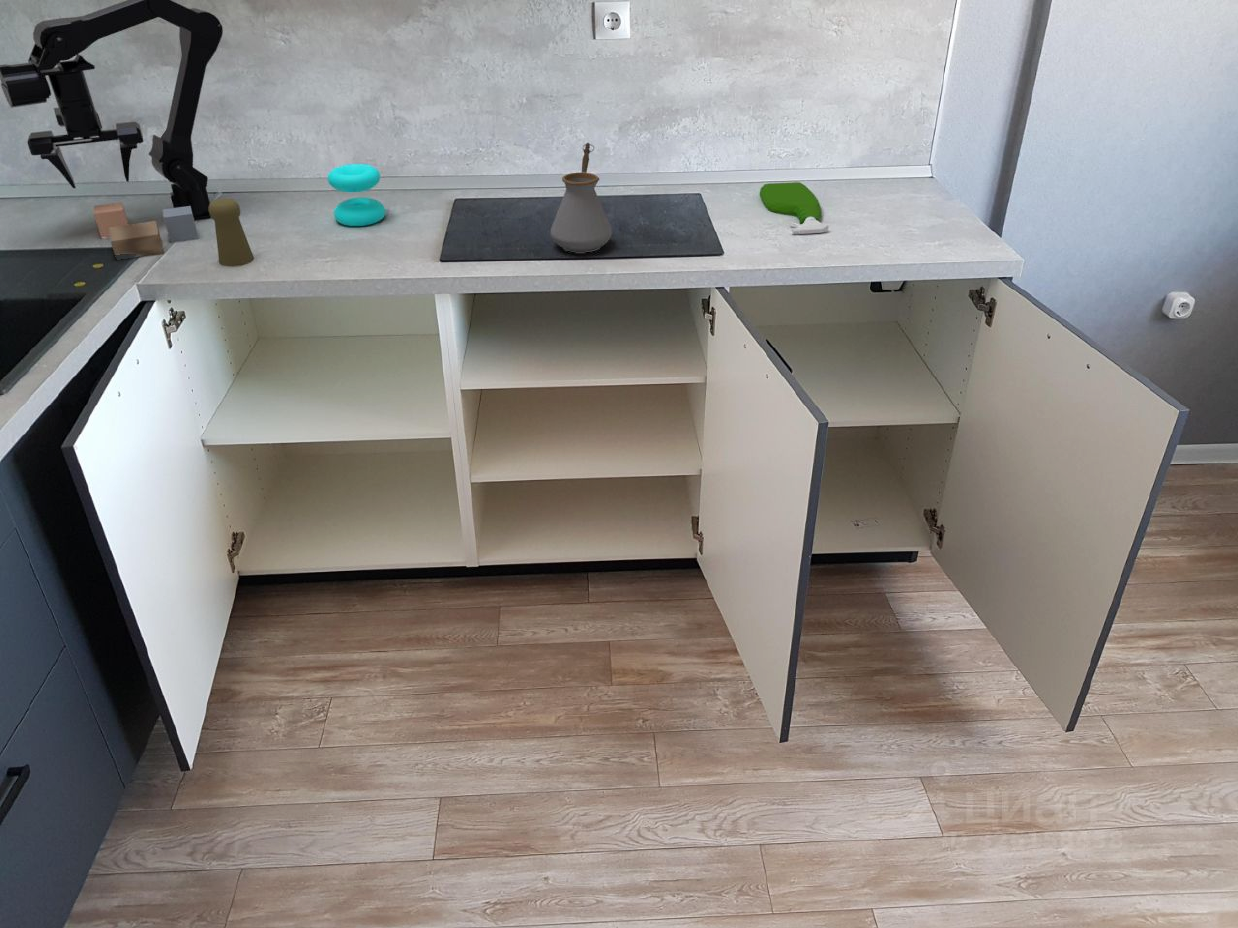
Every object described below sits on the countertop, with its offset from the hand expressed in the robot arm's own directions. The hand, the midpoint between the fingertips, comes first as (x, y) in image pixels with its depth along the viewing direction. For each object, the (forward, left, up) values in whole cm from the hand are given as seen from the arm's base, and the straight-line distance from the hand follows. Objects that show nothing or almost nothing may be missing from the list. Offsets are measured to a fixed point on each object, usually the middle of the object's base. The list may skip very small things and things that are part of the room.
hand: (101, 184), depth 179 cm
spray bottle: (-126, +47, -10) cm, 135 cm away
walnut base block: (-4, +12, -10) cm, 16 cm away
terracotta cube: (0, 0, -10) cm, 10 cm away
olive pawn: (-20, +25, -10) cm, 33 cm away
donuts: (-45, +13, -10) cm, 48 cm away
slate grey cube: (-12, +8, -10) cm, 17 cm away
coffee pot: (-82, +41, -10) cm, 92 cm away
